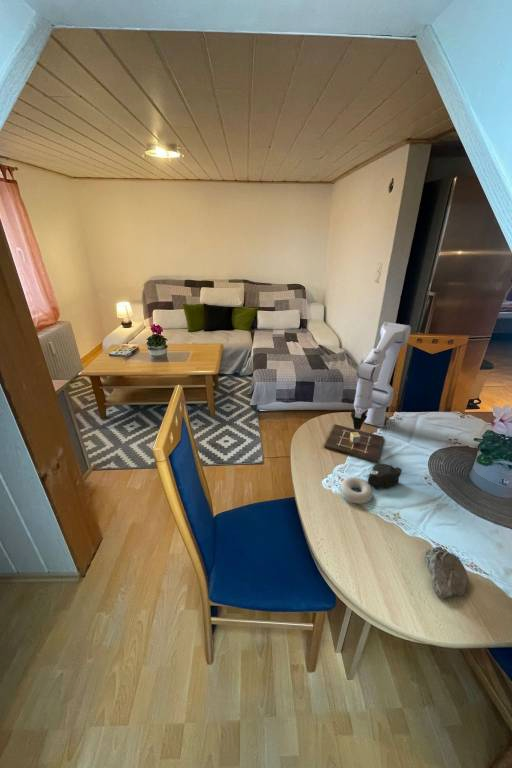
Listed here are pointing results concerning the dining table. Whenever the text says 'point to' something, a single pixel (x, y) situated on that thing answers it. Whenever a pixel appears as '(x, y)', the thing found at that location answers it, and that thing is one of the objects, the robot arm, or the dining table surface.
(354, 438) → the alphabet block
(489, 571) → the dining table surface
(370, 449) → the board
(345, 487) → the donut
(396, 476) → the mineral
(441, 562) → the brown rock
